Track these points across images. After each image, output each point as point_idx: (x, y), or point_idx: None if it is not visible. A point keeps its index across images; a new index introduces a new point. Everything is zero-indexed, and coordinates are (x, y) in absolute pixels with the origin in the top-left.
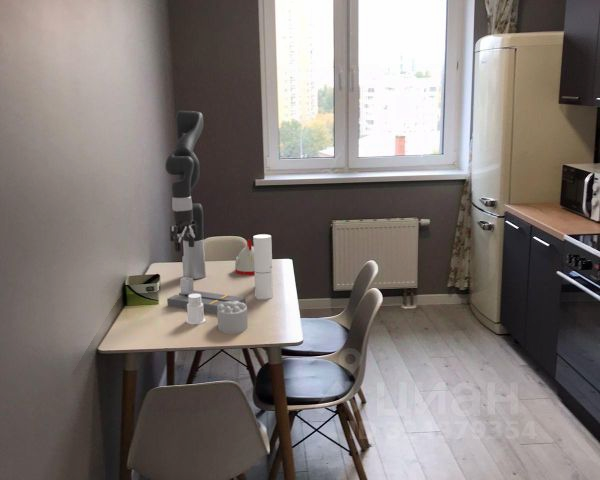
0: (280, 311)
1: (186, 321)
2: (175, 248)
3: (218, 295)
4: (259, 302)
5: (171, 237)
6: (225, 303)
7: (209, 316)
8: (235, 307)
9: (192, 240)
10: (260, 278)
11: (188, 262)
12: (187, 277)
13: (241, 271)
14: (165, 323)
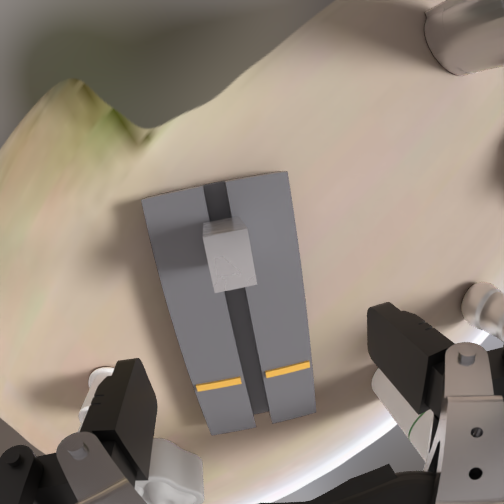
0: (306, 466)
1: (90, 376)
2: (98, 396)
3: (292, 339)
4: (345, 402)
5: (2, 497)
6: (150, 496)
7: (167, 392)
8: None
9: (404, 392)
10: (400, 425)
11: (463, 22)
12: (247, 251)
13: None
14: (44, 333)
